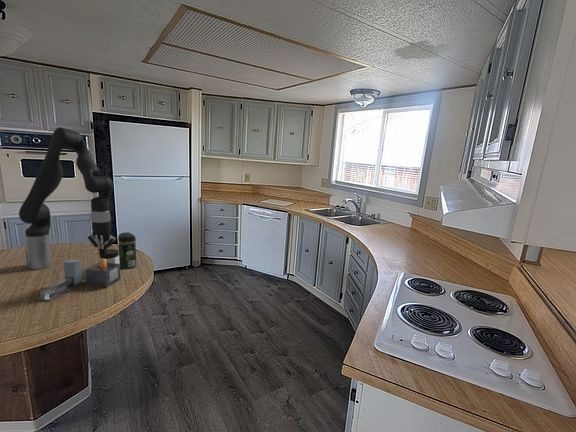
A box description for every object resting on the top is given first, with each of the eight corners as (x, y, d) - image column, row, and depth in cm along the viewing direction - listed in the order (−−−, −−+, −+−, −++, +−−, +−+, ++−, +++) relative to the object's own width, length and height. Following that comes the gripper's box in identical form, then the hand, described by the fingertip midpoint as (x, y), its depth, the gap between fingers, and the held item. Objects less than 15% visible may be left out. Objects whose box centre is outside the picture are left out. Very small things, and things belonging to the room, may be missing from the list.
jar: (99, 278, 147) (98, 254, 145) (99, 272, 154) (98, 250, 151) (120, 275, 152) (119, 252, 150) (119, 269, 159) (118, 248, 156)
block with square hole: (86, 285, 138) (85, 269, 137) (101, 277, 148) (100, 262, 146) (107, 287, 138) (106, 271, 136) (120, 279, 147) (120, 264, 146)
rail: (36, 299, 123) (35, 290, 122) (75, 279, 143) (75, 271, 142) (49, 301, 122) (48, 292, 121) (87, 281, 143) (86, 273, 142)
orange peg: (98, 276, 141) (98, 260, 139) (102, 274, 144) (102, 258, 142) (104, 276, 141) (103, 260, 139) (108, 274, 143) (107, 258, 142)
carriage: (65, 283, 137) (63, 262, 135) (72, 280, 141) (70, 259, 139) (75, 284, 136) (74, 263, 134) (82, 281, 140) (81, 260, 138)
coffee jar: (117, 264, 165) (116, 232, 162) (133, 262, 171) (132, 230, 167) (122, 270, 158) (120, 236, 155) (138, 267, 164) (137, 234, 160)
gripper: (120, 219, 140) (121, 254, 144) (93, 217, 141) (95, 252, 144) (109, 223, 133) (111, 259, 136) (81, 220, 134) (83, 257, 137)
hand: (103, 255), depth 140 cm, fingers closed
